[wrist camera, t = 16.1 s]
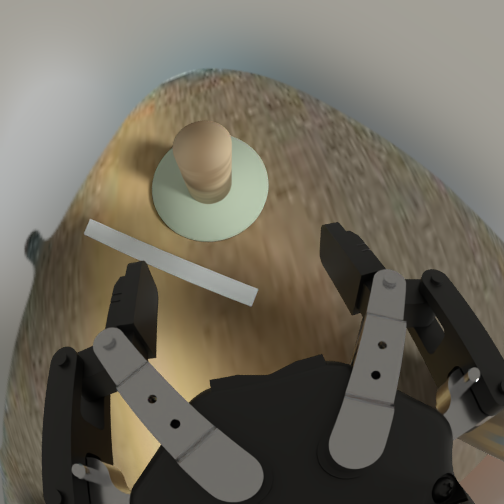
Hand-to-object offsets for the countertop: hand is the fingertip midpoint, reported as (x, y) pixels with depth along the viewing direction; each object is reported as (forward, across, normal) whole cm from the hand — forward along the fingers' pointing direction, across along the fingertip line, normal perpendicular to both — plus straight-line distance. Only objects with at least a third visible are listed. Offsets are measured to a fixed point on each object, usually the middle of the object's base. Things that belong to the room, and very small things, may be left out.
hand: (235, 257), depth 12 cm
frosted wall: (+12, +6, +9) cm, 16 cm away
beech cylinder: (+17, +1, +3) cm, 17 cm away
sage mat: (+17, +1, +4) cm, 18 cm away
